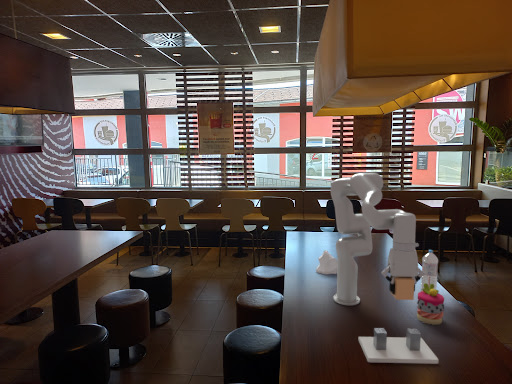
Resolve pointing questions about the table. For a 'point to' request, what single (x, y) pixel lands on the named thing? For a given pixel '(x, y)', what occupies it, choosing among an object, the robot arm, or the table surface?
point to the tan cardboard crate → (404, 288)
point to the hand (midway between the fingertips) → (402, 292)
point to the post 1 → (380, 339)
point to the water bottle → (429, 269)
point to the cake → (430, 305)
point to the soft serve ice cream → (327, 264)
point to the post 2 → (413, 339)
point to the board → (397, 351)
